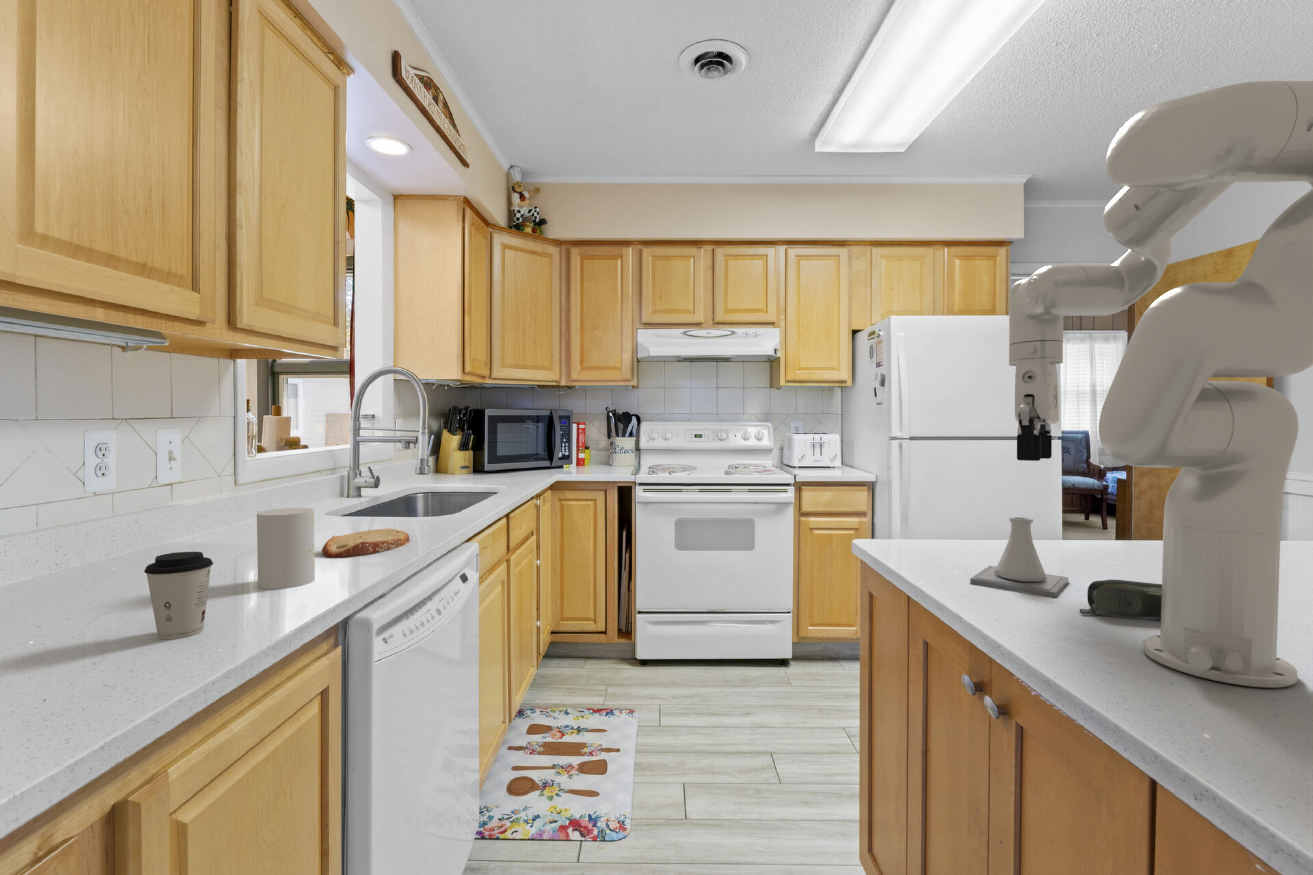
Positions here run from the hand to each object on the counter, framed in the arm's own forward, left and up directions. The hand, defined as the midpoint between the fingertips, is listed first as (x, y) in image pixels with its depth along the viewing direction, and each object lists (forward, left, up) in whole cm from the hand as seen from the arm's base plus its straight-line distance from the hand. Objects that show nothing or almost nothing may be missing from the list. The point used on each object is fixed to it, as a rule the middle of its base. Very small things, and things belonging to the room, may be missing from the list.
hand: (1034, 459), depth 99 cm
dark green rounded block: (-9, -14, -21) cm, 27 cm away
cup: (-83, +93, -21) cm, 126 cm away
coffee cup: (-100, +76, -21) cm, 127 cm away
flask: (0, +2, -20) cm, 20 cm away
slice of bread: (-62, +112, -22) cm, 130 cm away
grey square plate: (0, +2, -21) cm, 21 cm away
